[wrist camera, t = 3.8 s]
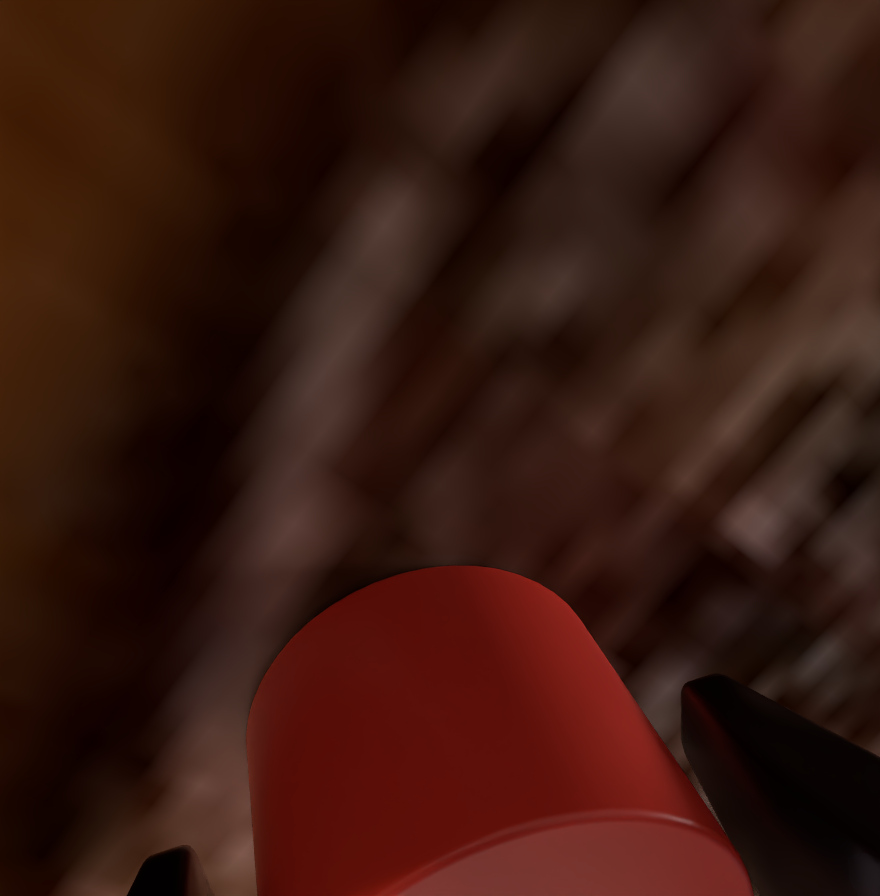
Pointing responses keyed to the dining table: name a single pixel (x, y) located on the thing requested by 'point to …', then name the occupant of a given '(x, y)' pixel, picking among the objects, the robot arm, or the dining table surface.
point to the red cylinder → (467, 755)
